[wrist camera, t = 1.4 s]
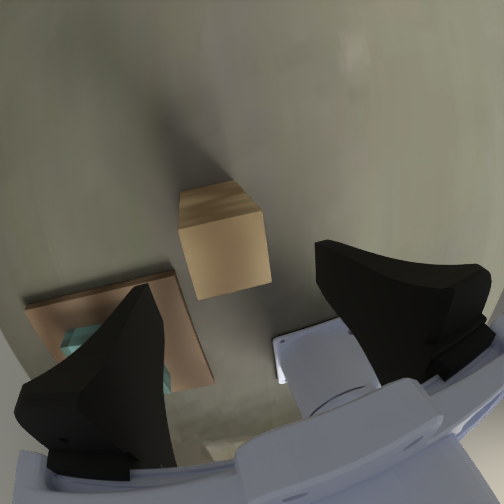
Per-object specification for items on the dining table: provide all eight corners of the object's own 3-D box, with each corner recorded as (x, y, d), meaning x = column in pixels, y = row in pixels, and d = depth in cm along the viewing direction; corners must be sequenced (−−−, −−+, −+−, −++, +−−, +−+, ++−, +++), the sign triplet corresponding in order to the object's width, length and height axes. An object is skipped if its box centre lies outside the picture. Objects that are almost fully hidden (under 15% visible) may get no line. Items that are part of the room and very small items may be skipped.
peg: (233, 180, 20) (262, 210, 13) (242, 229, 22) (271, 282, 15) (180, 191, 19) (177, 230, 12) (192, 241, 21) (198, 300, 14)
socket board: (174, 269, 22) (173, 293, 19) (213, 377, 28) (218, 401, 25) (27, 304, 20) (13, 326, 16) (90, 395, 26) (86, 417, 23)
